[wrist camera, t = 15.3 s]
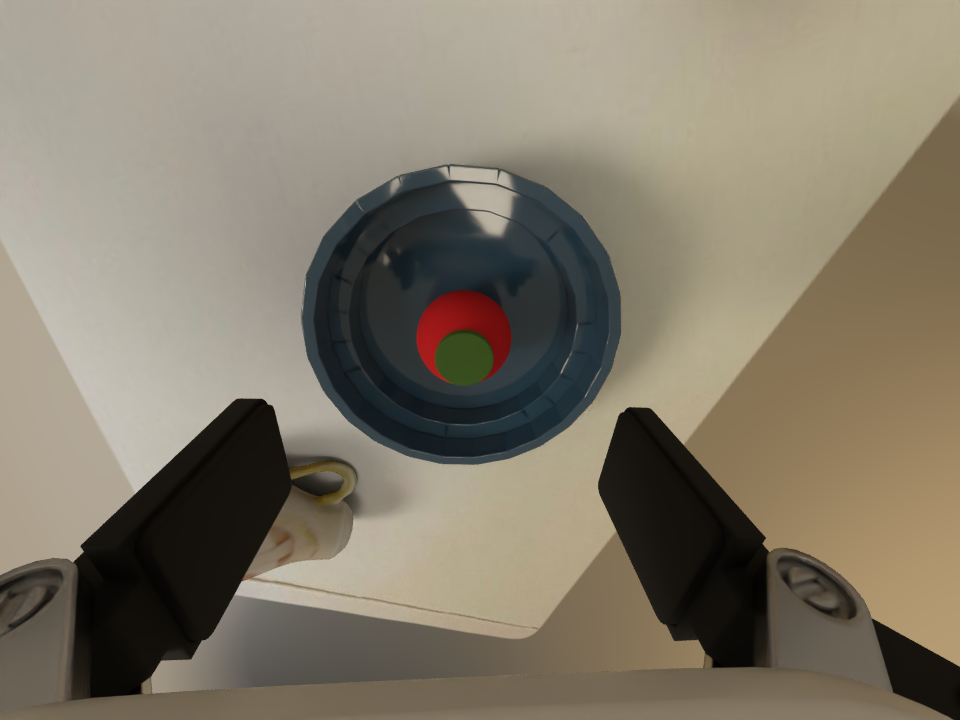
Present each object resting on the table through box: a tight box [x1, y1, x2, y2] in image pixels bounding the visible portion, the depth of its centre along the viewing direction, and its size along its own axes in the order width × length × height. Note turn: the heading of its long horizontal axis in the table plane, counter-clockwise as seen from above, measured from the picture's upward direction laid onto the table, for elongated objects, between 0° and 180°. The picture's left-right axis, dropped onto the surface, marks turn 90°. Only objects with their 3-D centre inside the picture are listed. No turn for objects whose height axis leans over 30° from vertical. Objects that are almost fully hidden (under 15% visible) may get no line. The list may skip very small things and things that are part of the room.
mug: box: [242, 461, 357, 581], centre depth 23 cm, size 8×10×10 cm
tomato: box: [416, 290, 512, 386], centre depth 17 cm, size 5×5×5 cm
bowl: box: [301, 164, 621, 465], centre depth 18 cm, size 15×15×4 cm
